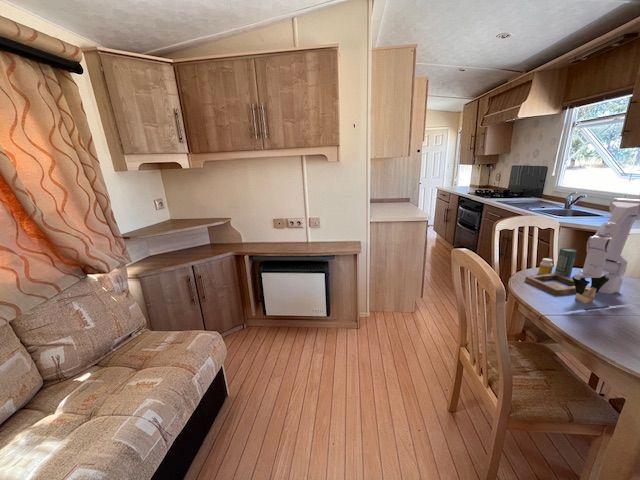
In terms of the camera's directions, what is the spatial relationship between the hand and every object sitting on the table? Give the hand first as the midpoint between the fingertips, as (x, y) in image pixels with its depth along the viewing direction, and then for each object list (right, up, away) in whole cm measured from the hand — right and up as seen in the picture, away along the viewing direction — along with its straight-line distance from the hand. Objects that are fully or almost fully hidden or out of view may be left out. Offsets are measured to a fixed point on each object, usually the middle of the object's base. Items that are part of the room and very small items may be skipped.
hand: (586, 292), depth 113 cm
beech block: (0, -4, +1) cm, 5 cm away
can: (+16, +3, +28) cm, 32 cm away
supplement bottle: (+6, +3, +29) cm, 30 cm away
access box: (0, -1, +15) cm, 15 cm away
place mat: (0, -5, +1) cm, 5 cm away
